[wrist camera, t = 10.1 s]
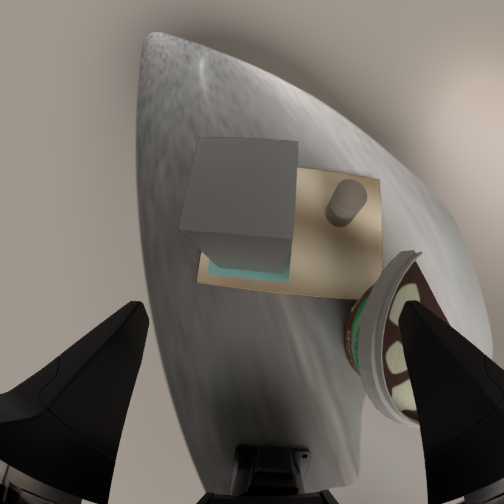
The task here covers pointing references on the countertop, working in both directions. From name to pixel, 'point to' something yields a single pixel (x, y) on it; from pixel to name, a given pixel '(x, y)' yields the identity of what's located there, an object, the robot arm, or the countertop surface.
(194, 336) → the countertop surface
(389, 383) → the food container
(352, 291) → the stand board
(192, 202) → the tall gray pillar
